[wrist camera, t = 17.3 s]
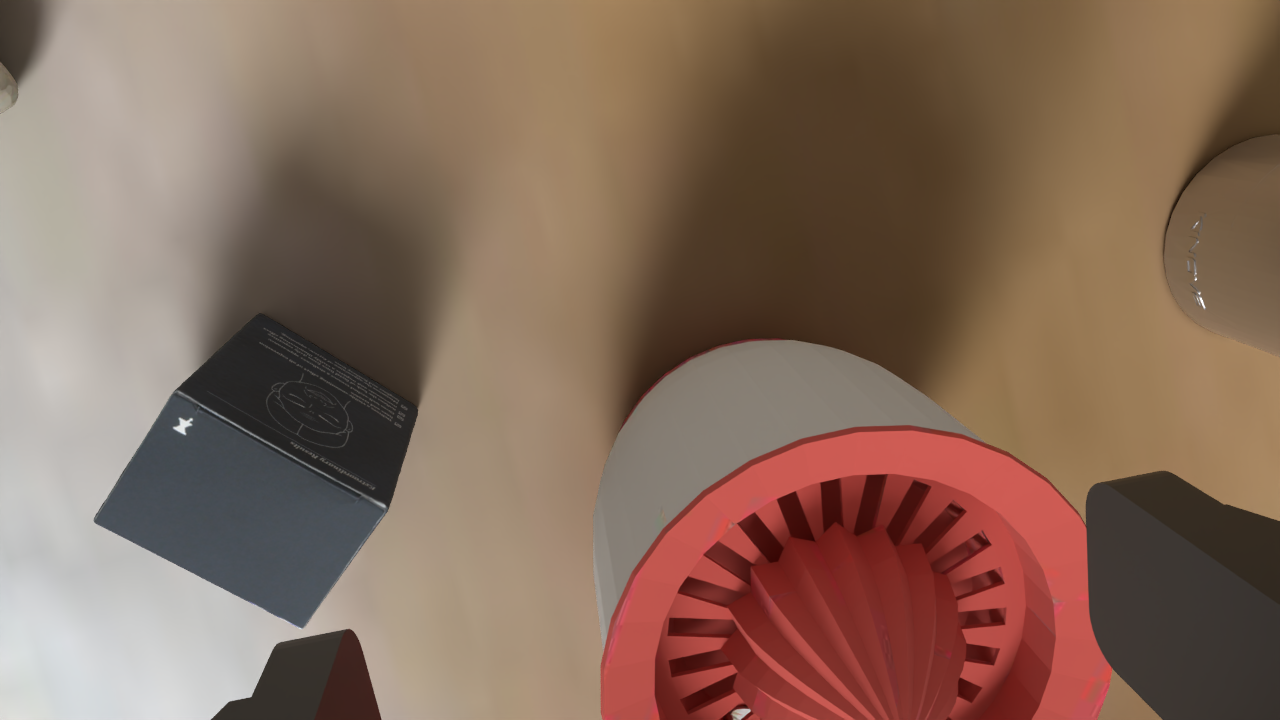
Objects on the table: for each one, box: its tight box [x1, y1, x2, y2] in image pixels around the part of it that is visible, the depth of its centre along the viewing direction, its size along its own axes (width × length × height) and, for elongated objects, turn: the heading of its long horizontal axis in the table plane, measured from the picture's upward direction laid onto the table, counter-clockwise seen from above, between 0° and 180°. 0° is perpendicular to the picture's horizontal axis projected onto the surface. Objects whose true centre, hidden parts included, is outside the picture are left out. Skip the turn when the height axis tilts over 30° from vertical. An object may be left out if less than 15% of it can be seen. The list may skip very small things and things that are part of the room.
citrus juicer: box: [593, 338, 1112, 720], centre depth 36 cm, size 16×17×20 cm
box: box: [94, 313, 418, 629], centre depth 37 cm, size 8×6×11 cm
